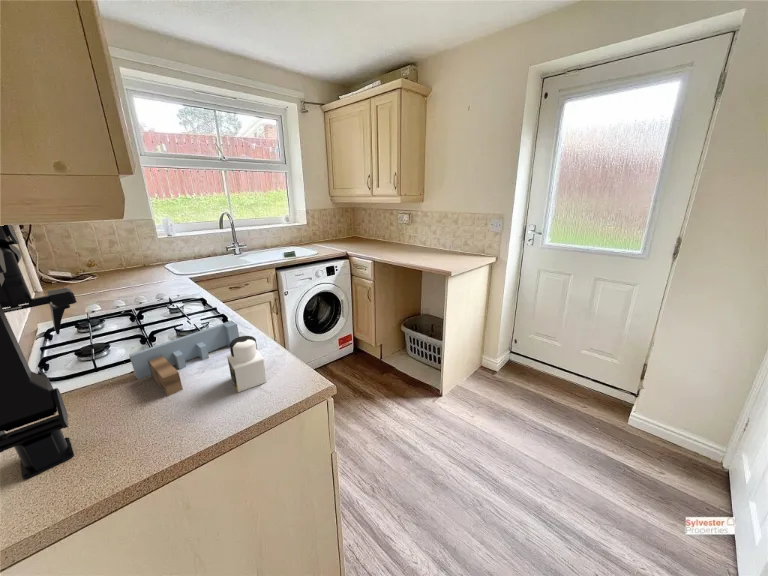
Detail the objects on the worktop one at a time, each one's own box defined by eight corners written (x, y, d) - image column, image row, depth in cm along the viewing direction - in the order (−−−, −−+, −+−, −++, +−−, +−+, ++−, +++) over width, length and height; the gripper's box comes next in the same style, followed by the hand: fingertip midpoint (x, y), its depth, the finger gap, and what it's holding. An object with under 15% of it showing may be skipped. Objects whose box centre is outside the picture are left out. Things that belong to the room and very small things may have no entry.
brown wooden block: (182, 389, 77) (178, 372, 75) (168, 396, 74) (163, 378, 73) (166, 370, 84) (161, 354, 82) (152, 376, 81) (147, 359, 80)
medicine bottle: (231, 378, 81) (223, 338, 77) (259, 369, 85) (253, 330, 81) (237, 393, 75) (229, 350, 71) (267, 382, 79) (261, 341, 75)
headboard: (241, 344, 97) (238, 324, 95) (141, 384, 78) (133, 360, 76) (234, 340, 99) (231, 320, 97) (136, 377, 81) (129, 354, 78)
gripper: (57, 261, 77) (78, 318, 82) (-71, 279, 63) (-37, 346, 68) (65, 268, 70) (87, 330, 75) (-77, 290, 56) (-38, 364, 62)
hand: (29, 341), depth 70 cm, fingers open, 9 cm apart
